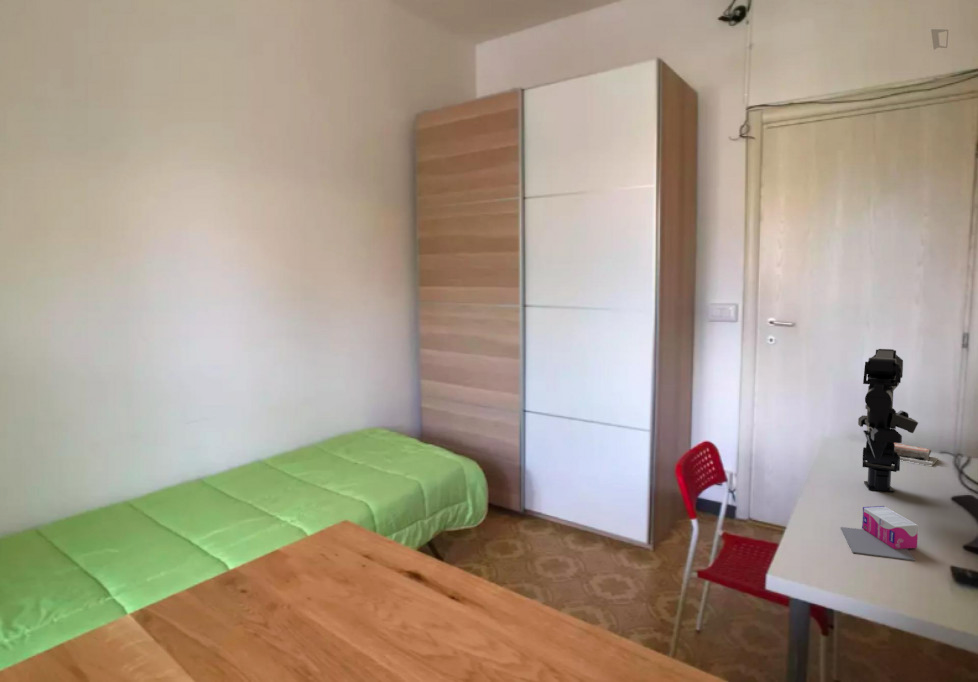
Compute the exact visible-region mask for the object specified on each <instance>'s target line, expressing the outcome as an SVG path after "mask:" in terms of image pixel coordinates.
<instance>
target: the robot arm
mask: <svg viewBox="0 0 978 682" xmlns="http://www.w3.org/2000/svg"><path fill="white" fill-rule="evenodd" d="M864 363H865V364H864V368H863V370H864V371H863V381H862V382H863V383H862V384H863V385H868V388H867V393H866V395H865V397H864V403H865V408H864V409H865V410H867V411H866V415H864V414H863V415H861V416H859V417H858V421H857V423H858V426H859V427H861V428H863V427H864V426H866V430H862V431H863V434H864V436H865V438H866V443H865V447H864V446H863V449H862V468H867V481H865V480H863V485H864V486H865V487H866V488H867V489H868V490H869V491H875V492H876V491H878V492H886V493H887V492H890V493H895V489H894V488H893V487H892V486H891V479H892V473H893V472H894V473H897V472H900V470H901V469H900V468H901V461H900V456H899V455H898V454H897V452H896V451H895V444H894V443H898V444H903V443H902V442H903V436H902V434H901V433H900V432H898V431H897V428H898V429H902V430H904V431H907V432H908V433H910V434H914V432H915V430H916V428H917V426H918V425H919V422H918V421H917V420H915V419H913V418H912V417H909V413H908V412H906V411H904V410H899V411H898V412H897V411H896V409H894V407H893V404H894V403H893V402H894V391H895V389H896V388H898V386H900V384H901V383H902V382H901V381H902V380H901V379H902V378H903V375H904V374H903V373H904V360H903V359H902V358H901V357H900V356H898V355H897V350H895V349H892V348H878V349H875V354H874V355H873V356H872V357H868V359H867V361H865V362H864Z"/></svg>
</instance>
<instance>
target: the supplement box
mask: <svg viewBox="0 0 978 682" xmlns="http://www.w3.org/2000/svg"><path fill="white" fill-rule="evenodd" d="M861 522H862V524H861V529H864V530H865V531H867V532H869V533H870V534H872V535H873V536H875V537H876V538H878V539H879V540H881V541H882V542H884V543H886V544H887V545H889V546H890V547H892V548H893V549H903V548H907V549H917V548H918V540H919V539H918V538H919V537H918V536H919V525H918V524H916V523H915V522H913V521H912V520H909V519H908V518H906V517H904V516H902V515H901V514H899V513H897V512H895V511H893V510H892V509H890V508H889V507H887V506H884V505H880V506H879V505H878V506H877V505H876V506H863V507H862V521H861Z"/></svg>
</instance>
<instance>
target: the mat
mask: <svg viewBox="0 0 978 682" xmlns="http://www.w3.org/2000/svg"><path fill="white" fill-rule="evenodd" d="M840 530H841V533H843V536H844V538H845V540H846V542H847V543H848V546H849V548H850V550H851V552H852V554H858V555H865V556H872V555H874V556H873V557H881V558H887V559H888V558H889V559H895V560H905V561H912V562H915V561H916V559H915V557H914V556H913V555H912V553H911V552H910V551H909V548H903V549H893V548H892V547H890V546H889V545H887V544H886V543H884V542H882V541H881V540H879V539H878V538H876V537H875V536H873V535H872V534H870V533H869V532H867V531H865V530H864V529H862V528H852V527H844V526H840Z"/></svg>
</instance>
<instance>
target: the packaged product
mask: <svg viewBox="0 0 978 682" xmlns="http://www.w3.org/2000/svg"><path fill="white" fill-rule="evenodd" d="M894 444H895V451H896V452H897V454H898V455H899V456H900V460H903V461H910V462H914V463H919V464H918V465H920V464H924V465H923V466H926V465H932V466H934V465H935V462H936V461H937V460H939V457H938V456H932V455H931V454H932V449H930V448H925V447H920V446H914V445H908V444H903V443H894ZM903 461H902V462H903ZM937 462H938V461H937ZM937 462H936V463H937ZM914 463H913V464H914Z"/></svg>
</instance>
